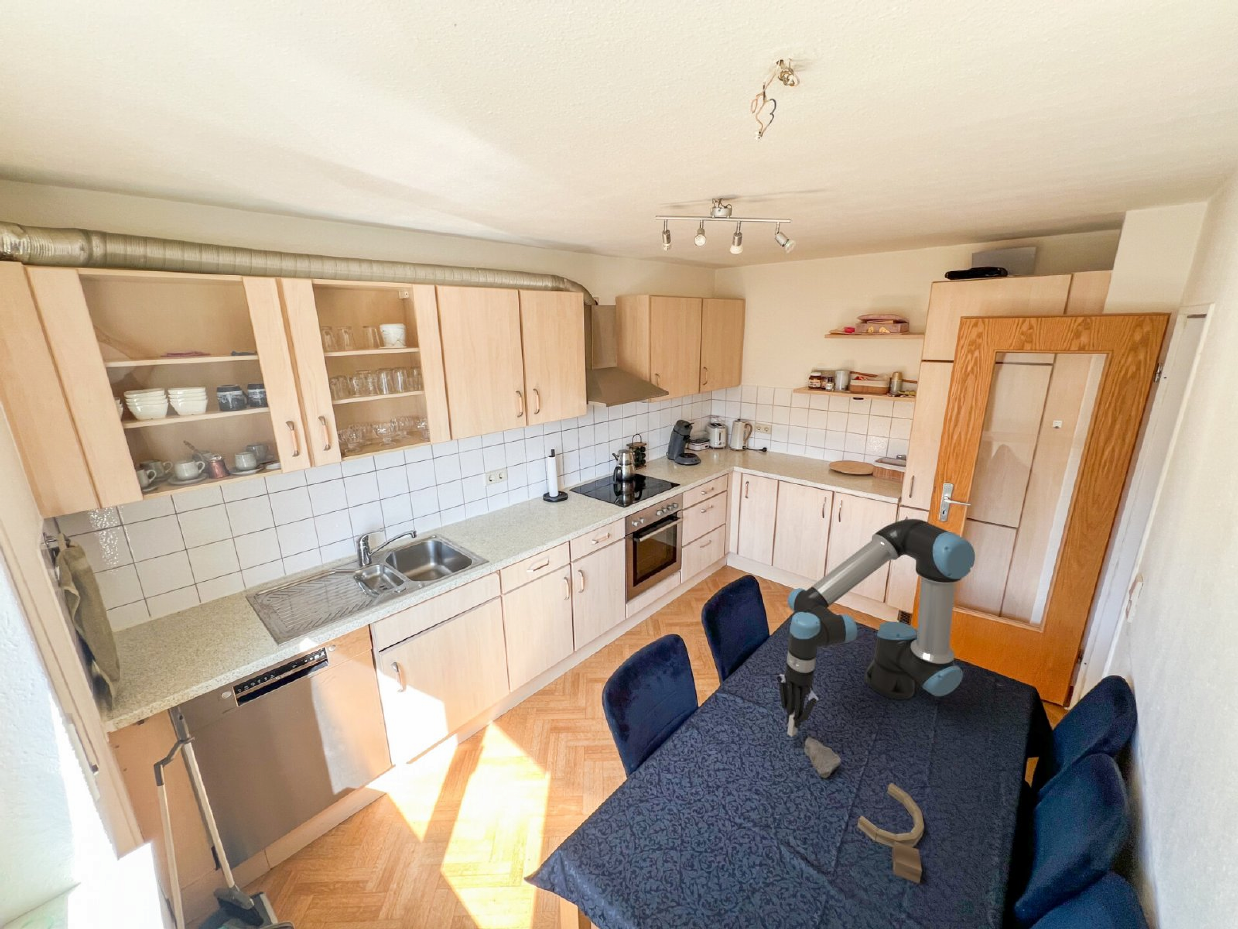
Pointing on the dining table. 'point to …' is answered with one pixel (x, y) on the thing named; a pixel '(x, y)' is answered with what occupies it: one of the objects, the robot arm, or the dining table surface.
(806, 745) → the stone
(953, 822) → the dining table surface
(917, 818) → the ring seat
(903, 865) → the walnut block
